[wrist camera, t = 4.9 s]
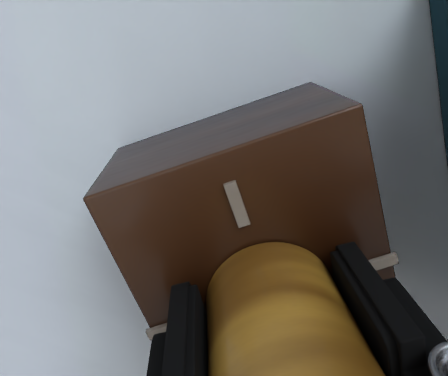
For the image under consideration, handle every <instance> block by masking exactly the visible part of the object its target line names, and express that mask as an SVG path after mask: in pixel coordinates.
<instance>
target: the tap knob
mask: <svg viewBox="0 0 448 376" xmlns="http://www.w3.org/2000/svg"><path fill="white" fill-rule="evenodd" d="M206 309H207V345H208V376H386V375H385V373H384V372H383V370H382V368H381V366H380V364H379V362H378V361H377V359H376V357H375V355H374V353H373V351H372V350H371V348H370V346H369V344H368V342H367V340H366V339H365V337H364V335H363V333H362V331H361V330H360V328H359V326H358V324H357V322H356V320H355V319H354V317H353V315H352V313H351V311H350V309H349V308H348V306H347V304H346V302H345V300H344V298H343V297H342V295H341V293H340V291H339V289H338V287H337V286H336V284H335V282H334V280H333V278H332V276H331V275H330V273H329V271H328V269H327V268H326V266H325V265H324V263H323V262H322V261H321V260H320V259H319V258H318V257H317V256H316V255H315V254H313V253H311V252H310V251H308V250H306V249H304V248H302V247H300V246H297V245H293V244H289V243H283V242H267V243H261V244H256V245H253V246H249V247H247V248H244V249H242V250H240V251H238V252H237V253H235V254H233V255H232V256H231V257H229V258H228V259H227V260H226V261H225V262H223V263H222V264H221V266H220V267H219V268H218V269H217V270H216V272H215V273H214V275H213V277H212V279H211V281H210V283H209V286H208V290H207V296H206Z"/></svg>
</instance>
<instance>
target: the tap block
mask: <svg viewBox="0 0 448 376" xmlns="http://www.w3.org/2000/svg"><path fill="white" fill-rule="evenodd" d="M83 200H84V202H85V204H86V206H87V208H88V210H89V212H90V214H91V216H92V217H93V219H94V221H95V223H96V225H97V227H98V229H99V231H100V233H101V235H102V237H103V239H104V240H105V242H106V244H107V246H108V248H109V250H110V252H111V254H112V256H113V258H114V260H115V262H116V263H117V265H118V267H119V269H120V271H121V273H122V275H123V277H124V279H125V281H126V283H127V284H128V286H129V288H130V290H131V292H132V294H133V296H134V298H135V300H136V302H137V304H138V306H139V307H140V309H141V311H142V313H143V315H144V317H145V319H146V321H147V323H148V325H149V327H150V328H148V329H146V334H147V336H148V338H149V339H150V340H152V338H153V336H154V334H158V333H162V332H166V328H167V319H168V310H169V301H170V292H171V286H172V285H176V284H180V283H184V282H188V281H189V282H190V284H191V286H192V285H197V286H198V289H199V292H200V295H201V298H202V301H203V304H204V307H205V310H206V313H207V309H206V296H207V290H208V286H209V283H210V281H211V279H212V277H213V275H214V273H215V272H216V270H217V269H218V268H219V267H220V266H221V264H222V263H223V262H225V261H226V260H227V259H228V258H229V257H231V256H232V255H233V254H235V253H237V252H238V251H240V250H242V249H244V248H247V247H249V246H253V245H256V244H261V243H267V242H283V243H289V244H293V245H297V246H300V247H302V248H304V249H306V250H308V251H310V252H311V253H313V254H315V255H316V256H317V257H318V258H319V259H320V260H321V261H322V262H323V263H324V265H325V266H326V268H327V269H328V271H329V273H330V275H331V276H332V278H333V280H334V276H333V270H332V264H331V258H330V252H332V251H335V246H337V245H341V244H345V243H349V242H355V243H356V245H357V246H358V247H359V249H360V250H361V251H362V253H363V254H364V255H365V257H366V258H367V259H368V261H369V262H370V263H371V265H372V266H373V267H374V269H375V270H376V271H377V273H378V274H379V275H380V277H381V278H382V279H383V280H385V279H389V278H395V273H394V267H393V265H396V264H399V262H398V257H397V254H396V253H395V252H393V253H391V252H390V246H389V241H388V236H387V231H386V225H385V220H384V215H383V210H382V204H381V199H380V194H379V189H378V183H377V178H376V173H375V168H374V162H373V157H372V152H371V147H370V141H369V136H368V131H367V126H366V121H365V115H364V110H363V105H362V104H361V103H358V102H356V101H354V100H351V99H349V98H347V97H345V96H342V95H340V94H338V93H335V92H333V91H331V90H328V89H326V88H324V87H321V86H319V85H317V84H314V83H312V82H309V83H306V84H303V85H301V86H298V87H295V88H292V89H289V90H286V91H283V92H280V93H277V94H275V95H272V96H269V97H266V98H263V99H260V100H257V101H254V102H251V103H248V104H246V105H243V106H240V107H237V108H234V109H231V110H228V111H225V112H222V113H219V114H217V115H214V116H211V117H208V118H205V119H202V120H199V121H196V122H193V123H191V124H188V125H185V126H182V127H179V128H176V129H173V130H170V131H167V132H164V133H162V134H159V135H156V136H153V137H150V138H147V139H144V140H141V141H138V142H135V143H133V144H130V145H127V146H124V147H121V148H118V149H117V151H116V152H115V154H114V155H113V156H112V158H111V159H110V161H109V162H108V164H107V165H106V166H105V168H104V169H103V171H102V172H101V173H100V175H99V176H98V178H97V179H96V181H95V182H94V183H93V185H92V186H91V188H90V189H89V191H88V192H87V193H86V195H85V196H84V198H83Z"/></svg>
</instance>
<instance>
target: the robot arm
mask: <svg viewBox="0 0 448 376" xmlns="http://www.w3.org/2000/svg"><path fill="white" fill-rule="evenodd" d="M330 258H331V264H332V270H333V276H334V282H335V284H336V286H337V287H338V289H339V291H340V293H341V295H342V297H343V298H344V300H345V302H346V304H347V306H348V308H349V309H350V311H351V313H352V315H353V317H354V319H355V320H356V322H357V324H358V326H359V328H360V330H361V331H362V333H363V335H364V337H365V339H366V340H367V342H368V344H369V346H370V348H371V350H372V351H373V353H374V355H375V357H376V359H377V361H378V362H379V364H380V366H381V368H382V370H383V372H384V373H385V375H386V376H448V341H446V339H445V338H444V337H443V336H442V334H441V333H440V332H439V331H438V329H437V328H436V327H435V326H434V324H433V323H432V322H431V321H430V319H429V318H428V317H427V316H426V314H425V313H424V312H423V311H422V309H421V308H420V307H419V306H418V305H417V303H416V302H415V301H414V300H413V298H412V297H411V296H410V295H409V293H408V292H407V291H406V290H405V288H404V287H403V286H402V285H401V283H400V282H399V281H398V280H397V279H396V278H389V279H385V280H383V279H382V278H381V277H380V275H379V274H378V273H377V271H376V270H375V269H374V267H373V266H372V265H371V263H370V262H369V261H368V259H367V258H366V257H365V255H364V254H363V253H362V251H361V250H360V249H359V247H358V246H357V245H356V243H355V242H349V243H345V244H341V245H337V246H335V251H332V252H330ZM147 376H208V345H207V313H206V310H205V307H204V304H203V301H202V298H201V295H200V292H199V289H198V286H197V285H192V286H191V284H190V282H189V281H188V282H184V283H180V284H176V285H172V286H171V292H170V301H169V310H168V319H167V328H166V332H162V333H158V334H154V336H153V338H152V344H151V350H150V357H149V363H148V370H147Z"/></svg>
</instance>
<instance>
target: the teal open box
mask: <svg viewBox="0 0 448 376" xmlns="http://www.w3.org/2000/svg"><path fill="white" fill-rule="evenodd" d="M429 3H430V12H431V21H432V30H433V39H434V48H435V56H436V65H437V74H438V83H439V92H440V101H441V110H442V119H443V128H444V137H445V146H446V155H447V164H448V0H429Z"/></svg>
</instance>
